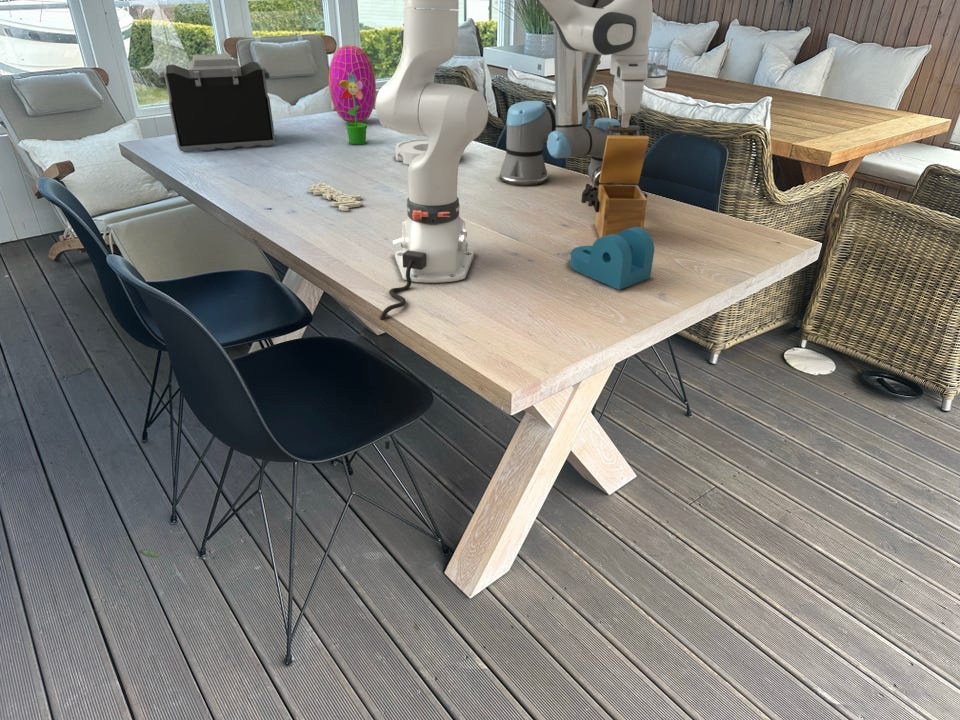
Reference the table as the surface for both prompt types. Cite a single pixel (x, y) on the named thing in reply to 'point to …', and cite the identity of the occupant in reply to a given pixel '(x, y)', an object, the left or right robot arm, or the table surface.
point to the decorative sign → (336, 196)
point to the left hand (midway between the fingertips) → (622, 124)
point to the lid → (623, 156)
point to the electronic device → (219, 104)
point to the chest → (619, 209)
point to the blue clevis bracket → (616, 258)
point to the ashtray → (410, 149)
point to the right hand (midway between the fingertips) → (618, 207)
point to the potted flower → (354, 129)
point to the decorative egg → (361, 68)
